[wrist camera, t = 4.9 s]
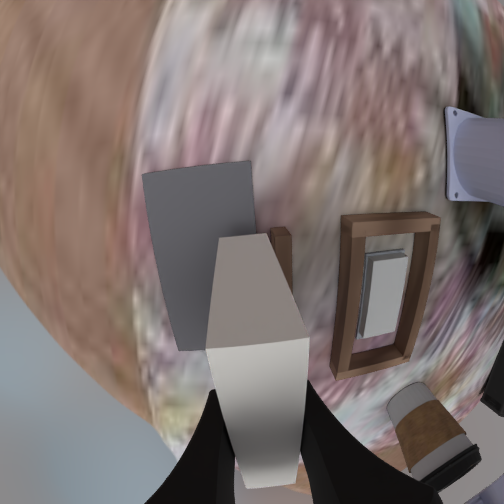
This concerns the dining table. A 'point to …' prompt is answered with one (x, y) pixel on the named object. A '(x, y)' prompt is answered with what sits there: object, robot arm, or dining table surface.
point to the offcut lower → (365, 281)
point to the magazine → (496, 386)
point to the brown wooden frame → (351, 282)
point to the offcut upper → (382, 293)
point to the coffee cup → (431, 438)
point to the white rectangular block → (258, 359)
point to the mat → (195, 236)
